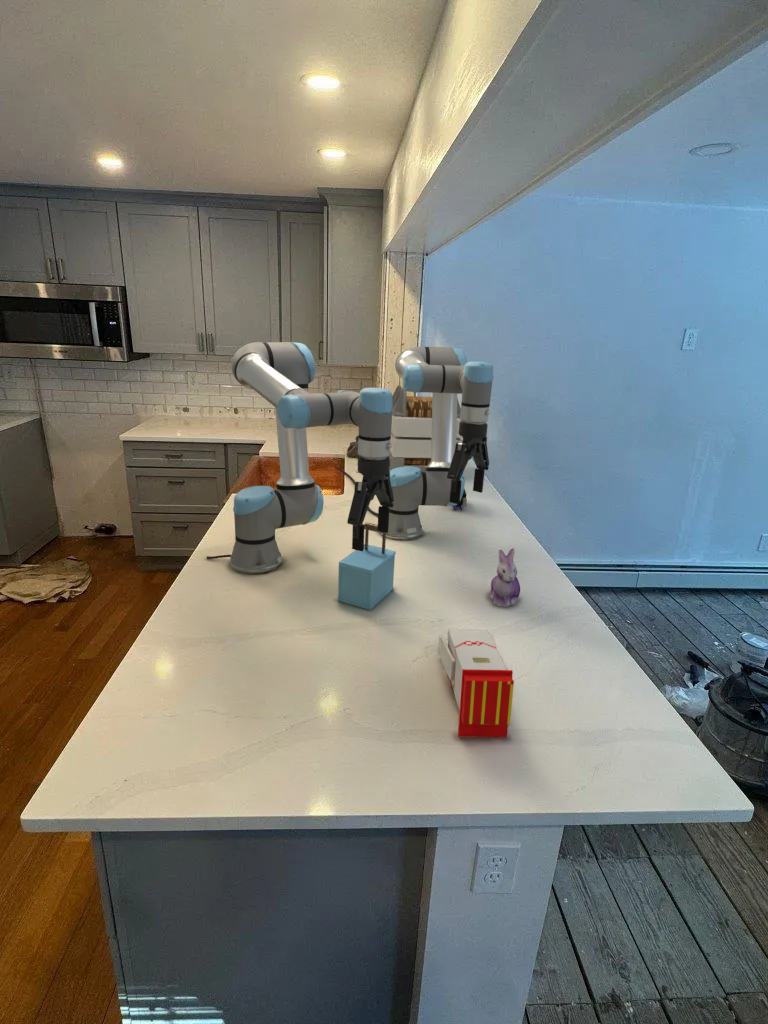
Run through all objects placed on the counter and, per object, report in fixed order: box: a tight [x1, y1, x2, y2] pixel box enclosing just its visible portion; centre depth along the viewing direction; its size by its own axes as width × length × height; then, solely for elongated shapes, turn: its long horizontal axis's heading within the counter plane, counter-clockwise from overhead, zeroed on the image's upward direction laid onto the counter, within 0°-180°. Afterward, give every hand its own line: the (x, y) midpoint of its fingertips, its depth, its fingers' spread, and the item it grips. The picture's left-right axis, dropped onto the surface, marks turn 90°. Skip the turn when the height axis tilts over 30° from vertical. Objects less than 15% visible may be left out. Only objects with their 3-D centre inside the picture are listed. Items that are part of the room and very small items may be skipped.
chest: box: [337, 554, 396, 611], centre depth 155 cm, size 14×10×11 cm
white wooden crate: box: [388, 384, 463, 471], centre depth 268 cm, size 34×33×41 cm
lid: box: [338, 521, 396, 573], centre depth 152 cm, size 14×10×9 cm
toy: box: [437, 628, 515, 738], centre depth 117 cm, size 12×13×30 cm
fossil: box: [346, 435, 359, 458], centre depth 305 cm, size 22×10×15 cm
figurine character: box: [452, 488, 468, 511], centre depth 230 cm, size 7×8×15 cm
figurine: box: [489, 547, 521, 608], centre depth 154 cm, size 9×10×15 cm
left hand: (370, 540), depth 139 cm, fingers open, 13 cm apart
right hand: (466, 497), depth 159 cm, fingers open, 13 cm apart
